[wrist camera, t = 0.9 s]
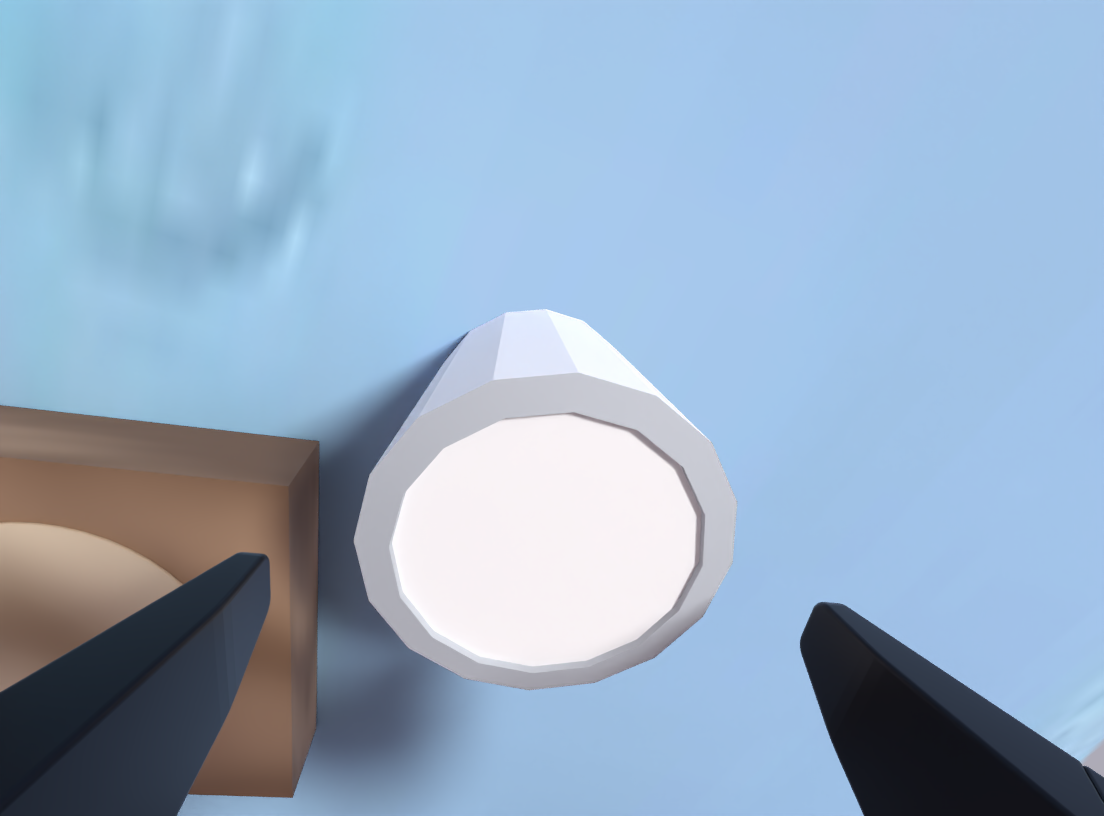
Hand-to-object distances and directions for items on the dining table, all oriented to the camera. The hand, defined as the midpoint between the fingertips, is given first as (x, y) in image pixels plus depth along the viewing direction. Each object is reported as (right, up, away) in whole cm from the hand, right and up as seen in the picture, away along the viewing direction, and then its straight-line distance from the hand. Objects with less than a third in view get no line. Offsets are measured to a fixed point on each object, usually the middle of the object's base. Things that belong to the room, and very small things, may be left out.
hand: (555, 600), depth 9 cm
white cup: (-1, +3, +7) cm, 8 cm away
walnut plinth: (-14, -3, +9) cm, 16 cm away
